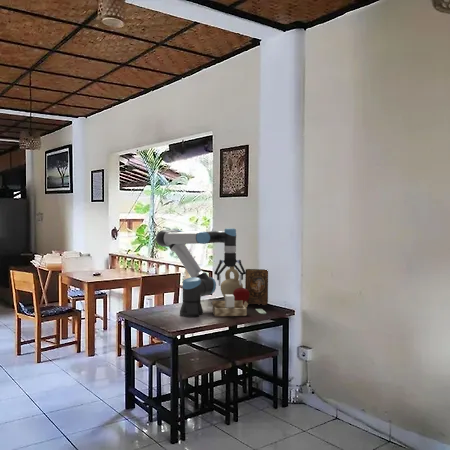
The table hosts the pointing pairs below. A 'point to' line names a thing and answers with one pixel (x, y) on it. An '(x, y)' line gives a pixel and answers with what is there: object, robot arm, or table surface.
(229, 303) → the block
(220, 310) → the carton
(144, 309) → the table surface
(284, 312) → the table surface
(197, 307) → the robot arm
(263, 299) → the book
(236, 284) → the vase
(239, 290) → the apple
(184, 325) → the table surface
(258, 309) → the mat
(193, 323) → the table surface
